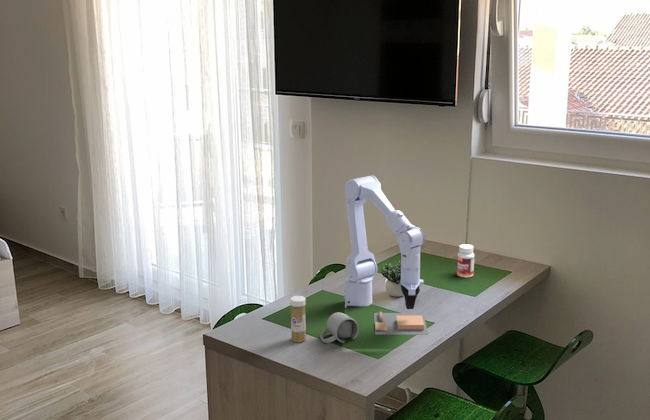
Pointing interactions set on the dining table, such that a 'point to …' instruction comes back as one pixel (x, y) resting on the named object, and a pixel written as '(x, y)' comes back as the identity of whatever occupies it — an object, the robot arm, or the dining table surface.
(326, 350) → the dining table surface
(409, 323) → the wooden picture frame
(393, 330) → the mat
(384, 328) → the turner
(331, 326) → the ceramic mug
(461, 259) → the pill bottle
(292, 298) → the sprinkles bottle
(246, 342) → the dining table surface
